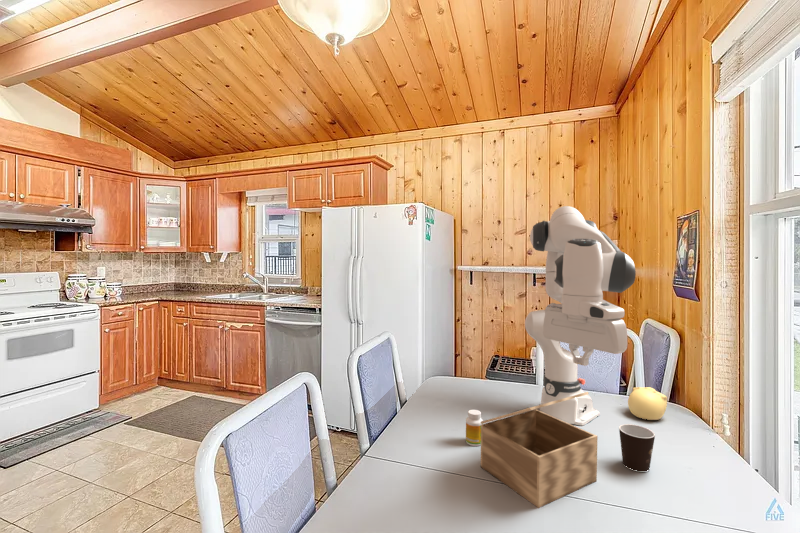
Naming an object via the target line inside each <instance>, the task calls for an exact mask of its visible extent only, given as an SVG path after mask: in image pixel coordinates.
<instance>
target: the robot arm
mask: <svg viewBox="0 0 800 533" xmlns="http://www.w3.org/2000/svg"><path fill="white" fill-rule="evenodd" d="M529 239H530V240H529V241H530V243H531V245H532V248H533V249H534V250H535V251H538V252H547V254H546V259H545V260H546V261H545V292H546V295H547V296H548V298H549V297H550V298H551V299H553V300H555V301H556V302H559V303H555V302H551V303H550V304H547V305H546V306H545V309H540V310H539V309H538V310H532V311H530V312H529V313H528V314H527V315H526V317H525V320H524V327H525V328H524V329H525V331H526V333H527V334H528V336H530V337H531V338H532V339H533V340H535V342H536V343H537V344H538V345H539V347H540V348H541V351H542V352H543V358H544V375H543V379H542V381H543V387H542V391H541V398H540V404H539V405H541V404H545V403H549V402H552V401H556V400H560V399H563V398H567V397H571V396H574V395H578V394H582V393H585V392H586V391H584V390H583V389H582V388H581V385H582V386H584V385H585V384H586V380H585V379H584V378H581V377H578V371H579V370H578V367H579V365H580V366H584V367H586V366H589V364H590V363H589V361H590V360H589V358H590V357H591V356H592V354H593V353H594V350H595V351H599V352H604V353H609V354H613V355H618V354H623V353H624V352H626V351H627V349H628V329H627V324H626V323H625V320H624V319H623V318H624V317H625V314H626V313H625V309H624V308H622V307H620V306H618V305H616V304H613V303H611V302H609V301H607V300H605V299H604V293H603V292H608V293H609V292H610V293H611V292H612V293H624V291H626V290H628V289H629V288H630V287H631V286H632V285H633V284H635V281H636V277H637V276H636V273H637V272H636V267H635V266H636V265H635V263H634V260H633V259H632V257H630V255H628V254H626V252H623V251H622V250H621V249H620V248H619V247H618V246H617V245H616V244H615V242H614V241H613V240H612V239H611V238H610V237H609V236H608V235H607V234H606V233H605V232H604V231H602V230H600V229H598V227H597V224H596V223H595V221H594V220H593V221H592V220H589V219H588V220H587V219H585V217H584V216H583V214H582V213H581V212H580V211H579V210H578V209H577V208H575V207H573V206H569V205H564V206H560V207H558V208H557V209H555V211H554V212H552V214H551V216H550V219H549V220H548V221H547V220H542V221H540V222H537V223H535V224H534V225H533V226H532V228H531V230H530V234H529ZM561 343H564V344H568V348H569V350H568V349H566V348H564V347H562V346H561ZM580 347H582V352H584V353H583V355H580V354H581V353H580V351H579V349H580ZM593 406H594V403H593V399H592V397H591V396H590V394H587V395H584V396H580V397H576V398H573V399H569V400H566V401H562V402H559V403H555V404H551V405H548V406H544V407H541V408H538V410H539V411H541V412H543V413H546V414H548V415H550V416H553V417H555V418H557V419H560V420H562V421H564V422H566V423H569V424H571V425H577V426H585V425H587V424H588V423H590V422H591V421H593V420H595V419H596V418H598V417H599V416H600V415H601V413H600V411H599V410H598V409H596V408H594V407H593ZM597 416H598V417H597Z"/></svg>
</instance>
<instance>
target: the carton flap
mask: <svg viewBox="0 0 800 533" xmlns="http://www.w3.org/2000/svg"><path fill="white" fill-rule="evenodd" d="M584 392H585V393H582V394H578V395H574V396H571V397H567V398H563V399H560V400H556V401H552V402H549V403H545V404H541V403H540V404H541V405H540V404H538V405H535V406H531V407H527V408H524V409H520V410H518V411H514V412H510V413H509V412H508V413H506V414H504V415H499V416H497V417H496V416H495V417H492V418H490V419H489V418H488V419H485V420H483V421H481V424H486V423H489V422H493V421H496V420H500V419H503V418H507V417H511V416H514V415H518V414H521V413H525V412H528V411H532V410H538V409H539V408H541V407H544V406H548V405H551V404H555V403H559V402H562V401H566V400H569V399H573V398H576V397H580V396H584V395H590V394H589V392H588V391H584Z"/></svg>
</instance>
